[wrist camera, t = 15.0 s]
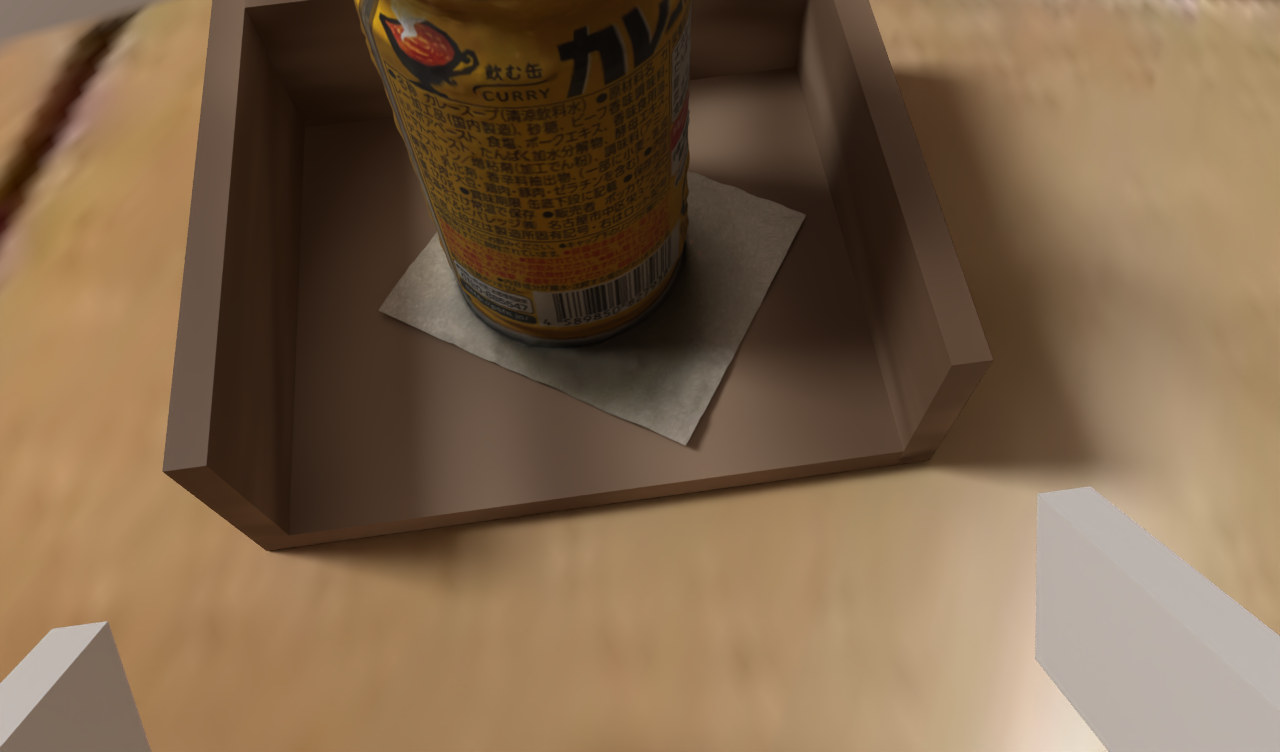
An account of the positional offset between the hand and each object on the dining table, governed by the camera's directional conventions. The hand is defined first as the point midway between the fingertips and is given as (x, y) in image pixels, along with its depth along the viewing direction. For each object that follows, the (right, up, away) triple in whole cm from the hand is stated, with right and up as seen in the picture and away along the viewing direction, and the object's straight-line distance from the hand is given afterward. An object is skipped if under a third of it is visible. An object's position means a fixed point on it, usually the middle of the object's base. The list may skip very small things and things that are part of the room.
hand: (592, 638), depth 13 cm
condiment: (0, +6, +11) cm, 13 cm away
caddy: (-1, +6, +12) cm, 13 cm away
